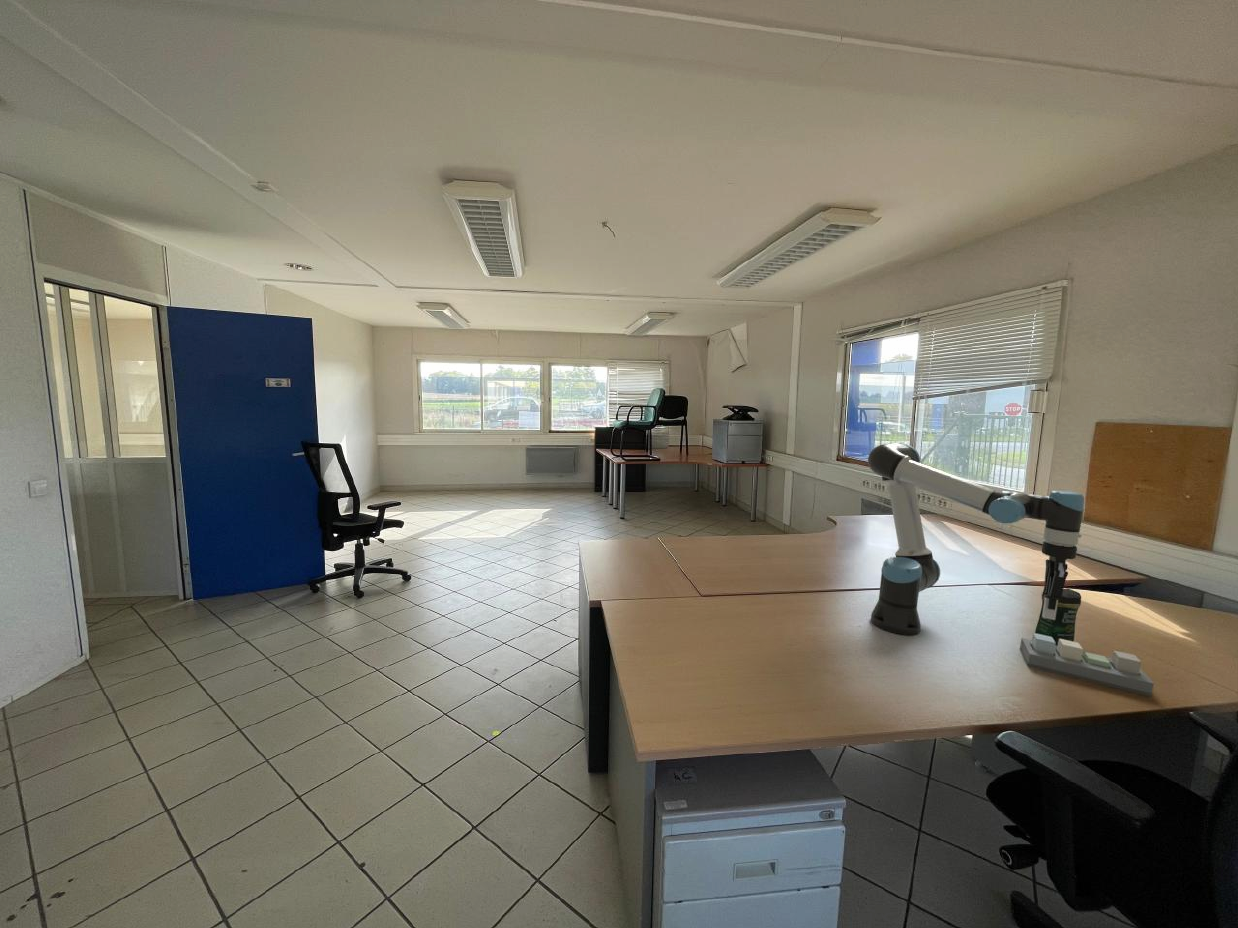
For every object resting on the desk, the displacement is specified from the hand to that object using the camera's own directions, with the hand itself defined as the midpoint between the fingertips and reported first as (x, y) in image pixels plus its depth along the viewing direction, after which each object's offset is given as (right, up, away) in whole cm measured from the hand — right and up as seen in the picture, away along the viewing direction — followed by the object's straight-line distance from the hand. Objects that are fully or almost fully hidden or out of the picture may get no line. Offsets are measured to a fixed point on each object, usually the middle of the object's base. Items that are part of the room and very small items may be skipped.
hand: (1048, 617), depth 142 cm
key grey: (+15, -12, -8) cm, 21 cm away
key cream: (+5, -11, -2) cm, 12 cm away
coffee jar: (+16, -13, +15) cm, 26 cm away
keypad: (+7, -15, -3) cm, 17 cm away
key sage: (+10, -14, -4) cm, 18 cm away
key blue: (0, -10, +2) cm, 11 cm away
